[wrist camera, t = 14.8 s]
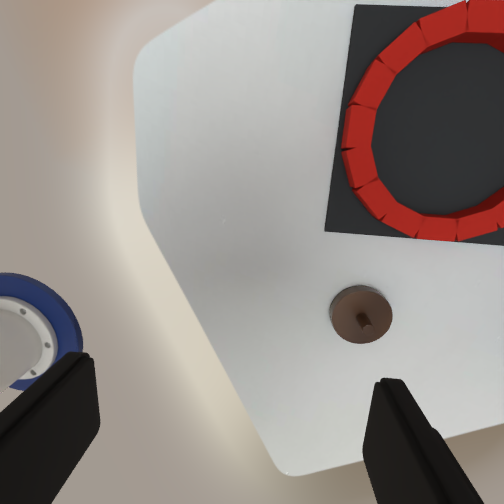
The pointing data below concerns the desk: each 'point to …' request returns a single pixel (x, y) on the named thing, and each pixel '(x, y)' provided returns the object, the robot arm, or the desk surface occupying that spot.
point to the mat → (424, 126)
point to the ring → (373, 91)
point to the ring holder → (360, 314)
